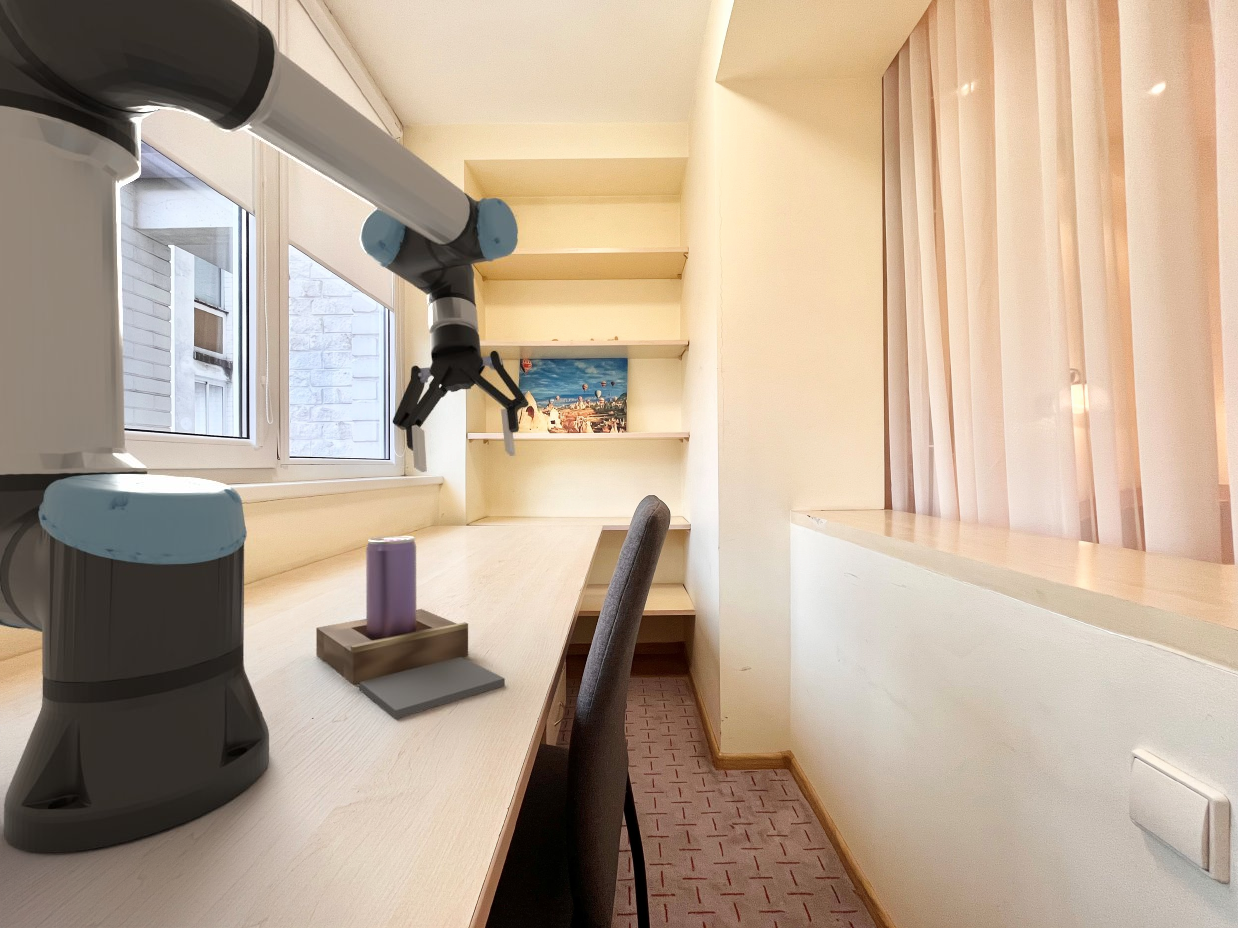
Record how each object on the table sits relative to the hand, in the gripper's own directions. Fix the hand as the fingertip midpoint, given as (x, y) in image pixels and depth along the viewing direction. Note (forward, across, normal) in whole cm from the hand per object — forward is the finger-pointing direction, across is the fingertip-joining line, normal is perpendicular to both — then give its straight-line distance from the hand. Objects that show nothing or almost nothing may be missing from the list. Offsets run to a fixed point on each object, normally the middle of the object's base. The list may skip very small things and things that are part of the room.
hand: (465, 461), depth 84 cm
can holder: (+26, +10, +4) cm, 28 cm away
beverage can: (+26, +10, +4) cm, 28 cm away
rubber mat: (+30, +1, +13) cm, 33 cm away
